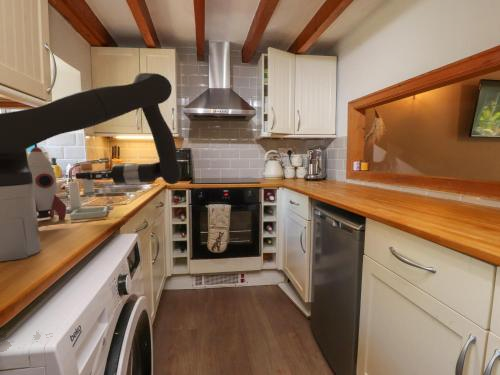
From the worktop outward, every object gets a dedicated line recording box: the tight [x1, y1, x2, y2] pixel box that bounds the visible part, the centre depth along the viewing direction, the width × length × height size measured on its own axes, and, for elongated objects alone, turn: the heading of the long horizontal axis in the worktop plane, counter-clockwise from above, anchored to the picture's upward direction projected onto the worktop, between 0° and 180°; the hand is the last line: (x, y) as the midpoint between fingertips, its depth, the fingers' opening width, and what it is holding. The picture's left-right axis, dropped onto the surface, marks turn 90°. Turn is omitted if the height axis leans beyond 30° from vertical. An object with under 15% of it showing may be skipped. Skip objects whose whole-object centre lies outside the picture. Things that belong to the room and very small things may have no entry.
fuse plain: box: [67, 181, 82, 213], centre depth 108 cm, size 4×4×12 cm
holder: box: [37, 204, 115, 216], centre depth 109 cm, size 7×27×3 cm, turn 114°
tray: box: [69, 205, 109, 225], centre depth 103 cm, size 11×11×3 cm
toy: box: [27, 144, 67, 220], centre depth 94 cm, size 11×11×30 cm
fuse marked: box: [79, 162, 96, 197], centre depth 101 cm, size 4×4×12 cm
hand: (79, 175), depth 100 cm, fingers closed on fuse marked, 3 cm apart
